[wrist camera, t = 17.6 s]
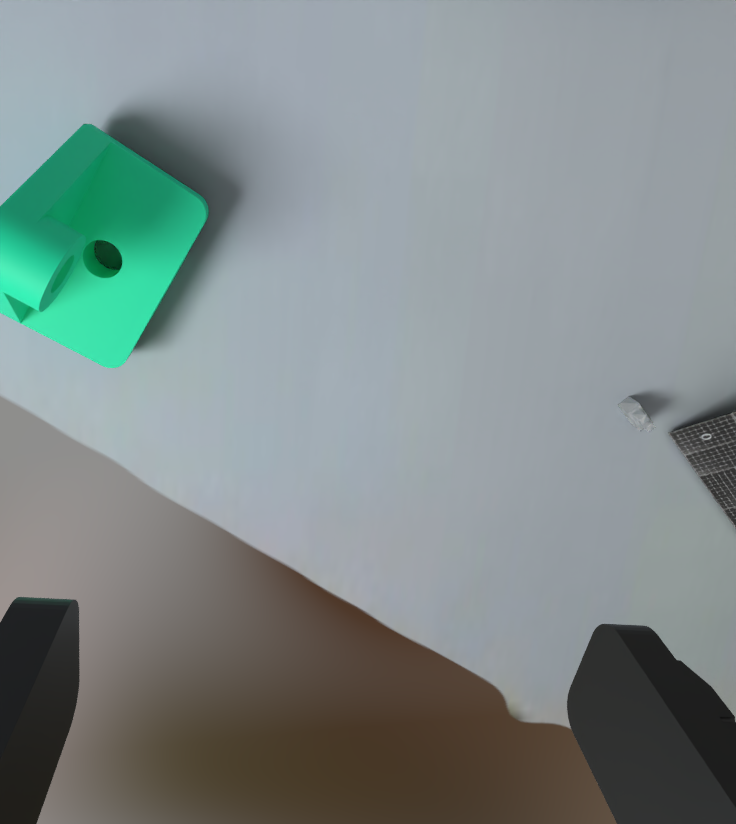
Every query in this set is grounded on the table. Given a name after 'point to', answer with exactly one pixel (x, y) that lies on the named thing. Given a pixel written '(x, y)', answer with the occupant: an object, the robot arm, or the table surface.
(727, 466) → the paper cutter
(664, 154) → the table surface
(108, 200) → the camera mount
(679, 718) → the robot arm
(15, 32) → the table surface
